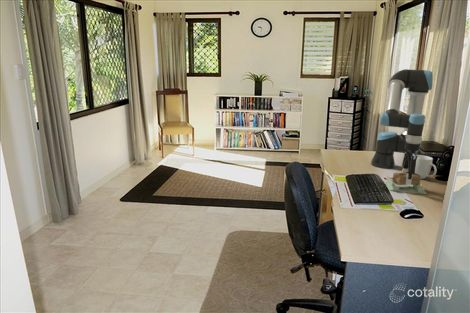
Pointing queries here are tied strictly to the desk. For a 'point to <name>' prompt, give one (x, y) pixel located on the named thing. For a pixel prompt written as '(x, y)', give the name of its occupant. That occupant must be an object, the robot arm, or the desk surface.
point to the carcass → (405, 187)
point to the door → (401, 178)
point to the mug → (424, 166)
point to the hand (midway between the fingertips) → (405, 181)
